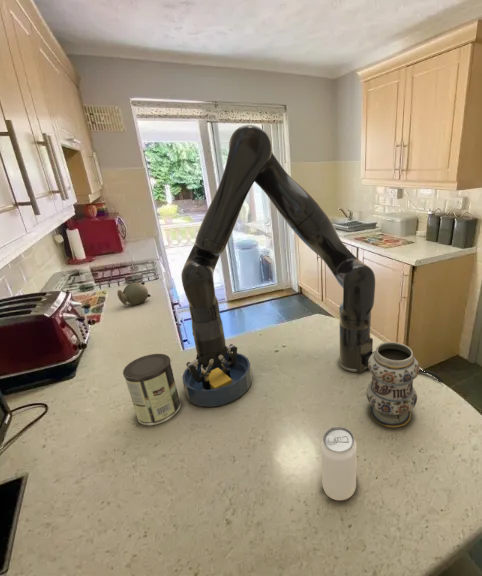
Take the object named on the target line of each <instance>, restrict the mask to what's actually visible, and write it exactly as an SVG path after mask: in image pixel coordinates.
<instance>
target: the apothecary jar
mask: <svg viewBox="0 0 482 576" xmlns="http://www.w3.org/2000/svg"><path fill="white" fill-rule="evenodd" d="M375 351H376V352H374V351H373V352H374V353H373V354H372V355H371V356H370V358H369V360H368V368H367V369H368V370H369V372H370V373H371V375H372V376H371V377H372V378H371V381H370V382H369V383H368V385H367V387H366V389H365V396H366V399H367V401H368V403H369V404H370V405H371V406H370V410H369V413H370V416H371V417H372V420H374V421H375V422H376V423H377V424H379V425H381V426H383V427H386V428H401V427H404V426H405V425H407V424H408V423H409V422H410V420H411V419H412V413H411V411H412V410H414V408H415V406H416V405H417V402H418V394H417V391H416V389H415V388H414V386H413V385H414V380H415V379H416V378H417V377H418V376H419V374H420V372H419V369H421V368H420V363H419V361H418V359H416V358H417V357H415V356H414V352H413V350H412V348H410V347H409V346H408V345H406V344H404V343H401V342H397V341H385V342H382V343H380V344H378V345H377V346H376V349H375Z"/></svg>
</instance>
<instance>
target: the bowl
mask: <svg viewBox="0 0 482 576" xmlns="http://www.w3.org/2000/svg"><path fill="white" fill-rule="evenodd" d="M228 354H229V353H228V351H227V354H226V356H225V358H224V359H225V360H226V362H228ZM216 368H219V369H220V370H222V369H223V367H222V366H221V364H220V365H217V366H215V367H214V368H212V369H211V371H212V370H214V369H216ZM197 372H198V374H199V375H201V364H200V363H199V364H198V369H197ZM230 375H231V379H232V383H231V384H229V385H227V386H224V387H221V388H217V389H209V390H205V389H204V388H203V385H202V382H200V383H198V382H197V381H196V380H195V379H194V378H193V376H192V375H191V373H190V371H189V369H188V367H186V368H185V369H184V372H183V374H182V376H181V378H182V385H183V389H184V393H185V397H186V399H187V400H188V401H189V402H190V403H191V404H193V405H195V406H198V407H205V408H206V407H207V408H209V407H210V408H211V407H218V406H223V405H225V404H229V403H232V402H233V401H235V400H237V399H239V398H240V397H242V396H243V395H244V394H245V393H246V392H248V390H249V388H250V387H251V385H252V383H253V372H252V366H251V362H250V359H249V357H247V356H245V354H242V353H239V352H237V357H236V365H235V366H234V367H231V368H230Z"/></svg>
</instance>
